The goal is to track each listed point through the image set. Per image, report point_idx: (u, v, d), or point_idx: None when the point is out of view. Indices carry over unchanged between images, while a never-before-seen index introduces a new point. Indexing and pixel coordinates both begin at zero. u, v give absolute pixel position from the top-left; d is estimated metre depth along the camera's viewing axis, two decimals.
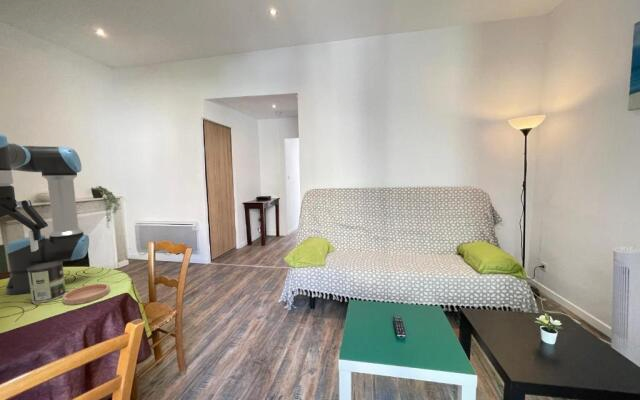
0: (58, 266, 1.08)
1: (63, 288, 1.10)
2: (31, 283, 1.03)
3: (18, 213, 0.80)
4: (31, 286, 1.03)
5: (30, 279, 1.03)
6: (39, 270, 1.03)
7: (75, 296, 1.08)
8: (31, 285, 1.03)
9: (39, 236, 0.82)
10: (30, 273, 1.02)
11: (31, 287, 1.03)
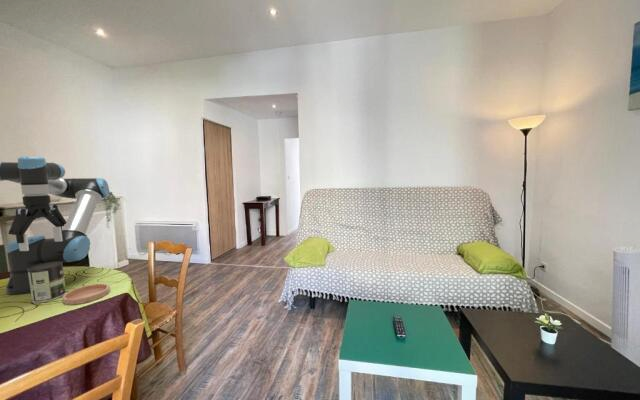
0: (58, 266, 1.08)
1: (63, 288, 1.10)
2: (31, 283, 1.03)
3: (28, 218, 1.01)
4: (31, 286, 1.03)
5: (30, 279, 1.03)
6: (39, 270, 1.03)
7: (75, 296, 1.08)
8: (31, 285, 1.03)
9: (18, 240, 0.97)
10: (30, 273, 1.02)
11: (31, 287, 1.03)
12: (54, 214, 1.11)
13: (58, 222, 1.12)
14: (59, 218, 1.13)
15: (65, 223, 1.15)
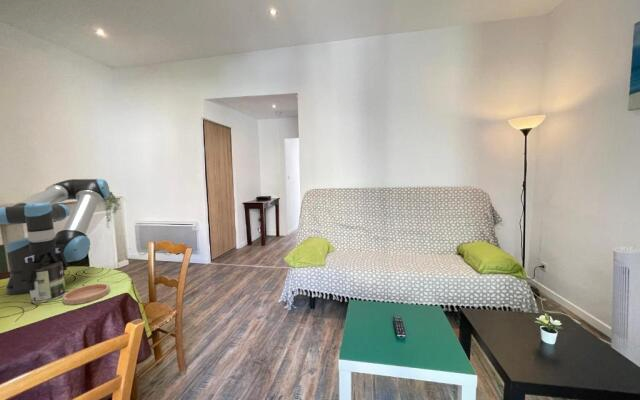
0: (58, 266, 1.08)
1: (63, 288, 1.10)
2: None
3: (35, 264, 1.03)
4: None
5: None
6: (39, 270, 1.03)
7: (75, 296, 1.08)
8: None
9: (29, 288, 1.01)
10: None
11: None
12: (58, 257, 1.13)
13: None
14: (62, 261, 1.14)
15: (67, 266, 1.16)
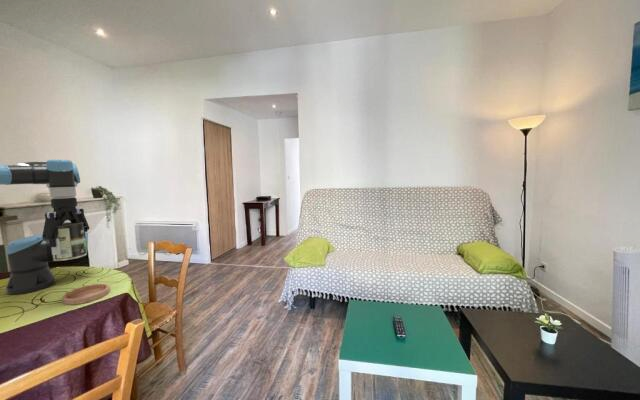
0: (79, 225, 1.05)
1: (83, 248, 1.07)
2: None
3: (57, 221, 1.01)
4: None
5: None
6: (60, 227, 1.01)
7: (75, 296, 1.08)
8: None
9: (50, 244, 0.99)
10: None
11: None
12: (79, 218, 1.11)
13: None
14: None
15: (88, 229, 1.13)
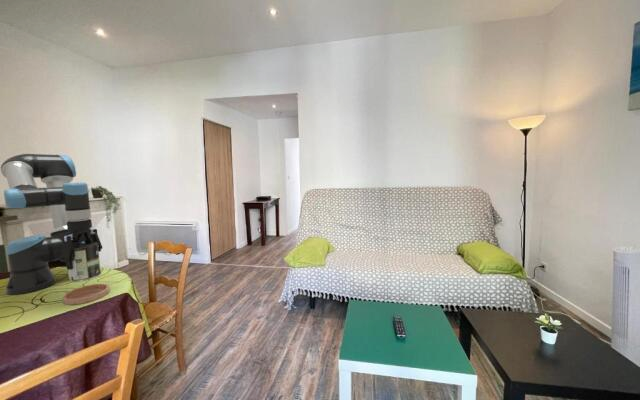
0: (94, 246, 1.07)
1: (98, 269, 1.09)
2: None
3: (73, 244, 1.03)
4: None
5: None
6: (77, 249, 1.02)
7: (75, 296, 1.08)
8: None
9: (67, 267, 1.01)
10: None
11: None
12: (93, 238, 1.13)
13: None
14: None
15: (101, 248, 1.15)
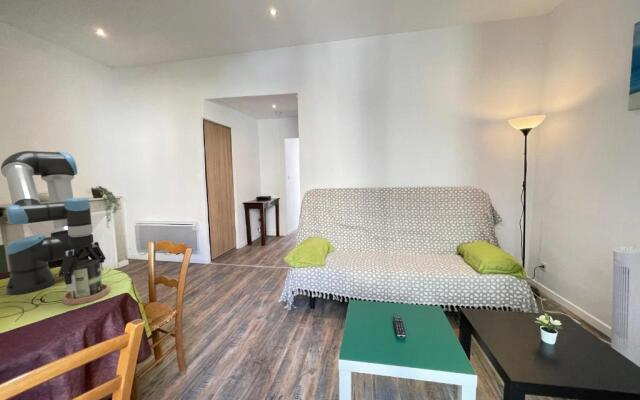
0: (96, 264, 1.08)
1: (100, 286, 1.11)
2: None
3: (74, 259, 1.03)
4: None
5: None
6: (79, 268, 1.04)
7: None
8: None
9: (66, 281, 1.00)
10: None
11: None
12: (95, 251, 1.14)
13: (99, 259, 1.14)
14: (99, 254, 1.15)
15: (104, 259, 1.17)
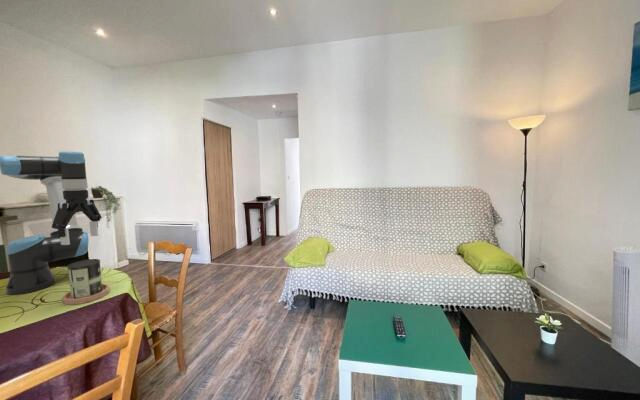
0: (96, 264, 1.08)
1: (100, 286, 1.11)
2: (71, 280, 1.04)
3: (68, 212, 1.01)
4: (71, 283, 1.04)
5: (70, 276, 1.04)
6: (79, 267, 1.04)
7: None
8: (71, 282, 1.04)
9: (60, 234, 0.98)
10: (70, 270, 1.03)
11: (71, 284, 1.04)
12: (90, 209, 1.12)
13: (94, 217, 1.12)
14: (95, 213, 1.13)
15: (100, 218, 1.16)
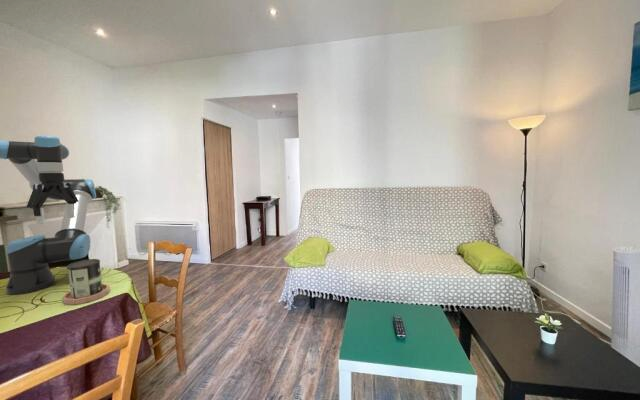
0: (96, 264, 1.08)
1: (100, 286, 1.11)
2: (71, 280, 1.04)
3: (44, 193, 1.07)
4: (71, 283, 1.04)
5: (70, 276, 1.04)
6: (79, 268, 1.04)
7: None
8: (71, 282, 1.04)
9: (35, 213, 1.04)
10: (70, 271, 1.03)
11: (71, 284, 1.04)
12: (67, 192, 1.18)
13: (71, 199, 1.18)
14: (72, 196, 1.19)
15: (77, 201, 1.21)
